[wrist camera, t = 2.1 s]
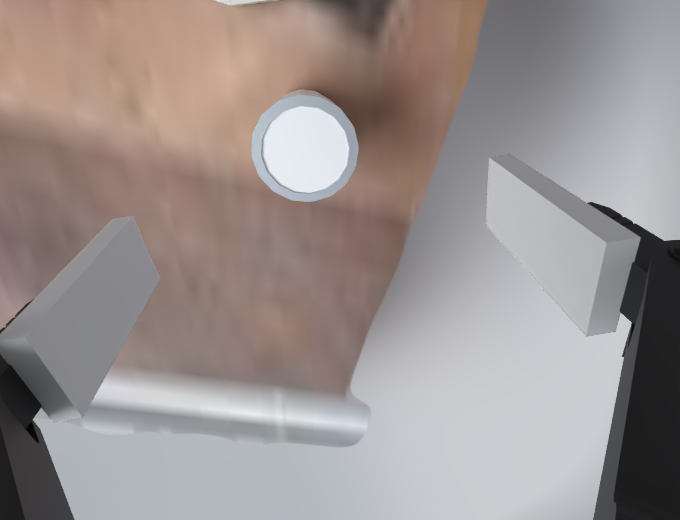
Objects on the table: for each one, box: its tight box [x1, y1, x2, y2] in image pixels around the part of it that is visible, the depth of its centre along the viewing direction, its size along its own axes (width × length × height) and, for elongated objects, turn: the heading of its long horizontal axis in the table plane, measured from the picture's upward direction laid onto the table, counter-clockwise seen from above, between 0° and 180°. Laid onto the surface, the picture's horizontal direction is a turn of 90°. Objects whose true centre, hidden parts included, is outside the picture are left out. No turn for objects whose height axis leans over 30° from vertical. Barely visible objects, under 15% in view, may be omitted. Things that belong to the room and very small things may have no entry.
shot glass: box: [252, 89, 359, 202], centre depth 29 cm, size 7×7×7 cm
